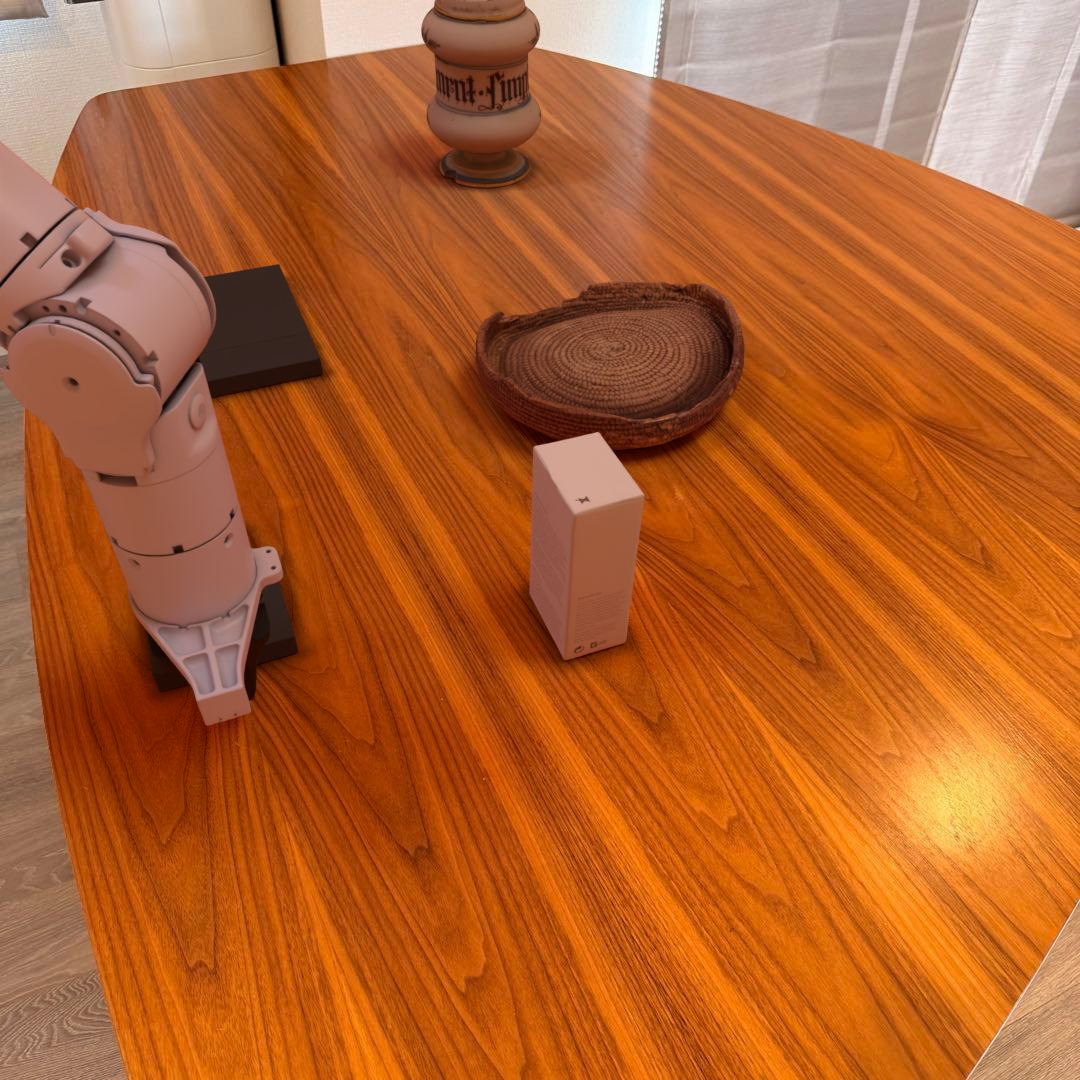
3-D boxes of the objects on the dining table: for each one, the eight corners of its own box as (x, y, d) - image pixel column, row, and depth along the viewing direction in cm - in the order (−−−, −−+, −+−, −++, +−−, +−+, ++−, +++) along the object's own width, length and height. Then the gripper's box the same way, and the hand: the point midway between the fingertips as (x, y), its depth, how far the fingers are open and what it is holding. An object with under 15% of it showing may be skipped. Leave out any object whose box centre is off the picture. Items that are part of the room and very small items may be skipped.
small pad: (159, 693, 56) (152, 675, 54) (137, 558, 63) (130, 540, 62) (299, 653, 58) (294, 635, 57) (261, 527, 65) (257, 509, 64)
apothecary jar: (406, 168, 106) (392, -16, 93) (484, 136, 112) (480, -40, 100) (485, 203, 100) (481, 13, 88) (562, 168, 107) (569, -15, 94)
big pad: (114, 418, 74) (108, 401, 72) (96, 312, 84) (91, 296, 83) (323, 374, 78) (320, 358, 77) (282, 279, 89) (279, 263, 87)
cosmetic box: (628, 644, 59) (648, 496, 50) (563, 663, 58) (572, 516, 49) (588, 575, 63) (600, 428, 54) (526, 592, 62) (529, 445, 53)
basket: (615, 285, 89) (619, 234, 86) (797, 378, 79) (810, 326, 76) (425, 382, 78) (421, 328, 74) (609, 506, 68) (615, 451, 64)
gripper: (297, 599, 40) (338, 779, 49) (235, 401, 49) (280, 584, 59) (115, 649, 38) (195, 826, 47) (87, 432, 47) (159, 616, 57)
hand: (233, 695), depth 53 cm, fingers closed
